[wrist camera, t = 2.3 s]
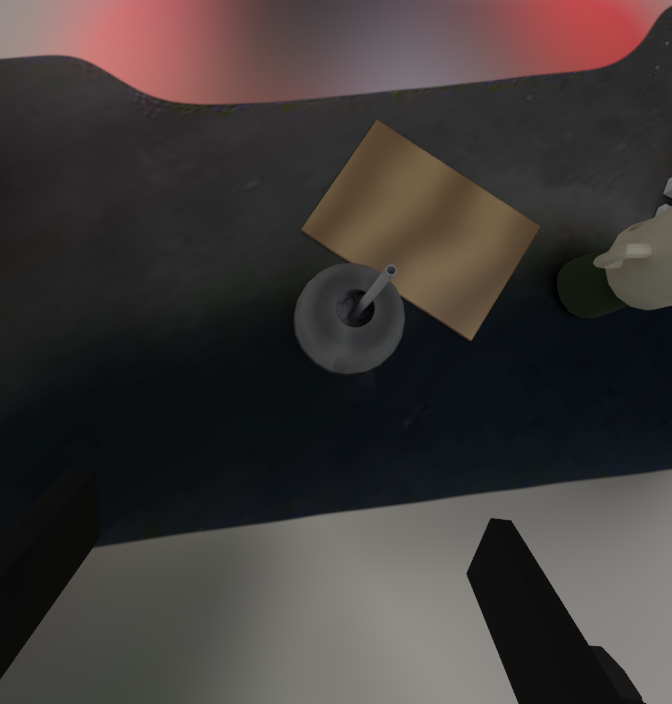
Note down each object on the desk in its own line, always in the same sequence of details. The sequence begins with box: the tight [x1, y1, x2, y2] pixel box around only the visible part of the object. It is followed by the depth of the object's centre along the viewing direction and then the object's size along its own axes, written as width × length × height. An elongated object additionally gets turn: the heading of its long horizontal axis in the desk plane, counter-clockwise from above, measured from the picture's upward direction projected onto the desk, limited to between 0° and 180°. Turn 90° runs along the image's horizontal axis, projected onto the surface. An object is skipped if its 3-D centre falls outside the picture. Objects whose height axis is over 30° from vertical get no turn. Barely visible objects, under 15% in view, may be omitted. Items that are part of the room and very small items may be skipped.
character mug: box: [557, 206, 672, 318], centre depth 29 cm, size 11×7×13 cm, turn 90°
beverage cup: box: [293, 263, 405, 376], centre depth 24 cm, size 7×7×20 cm
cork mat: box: [301, 120, 541, 341], centre depth 35 cm, size 20×14×1 cm
